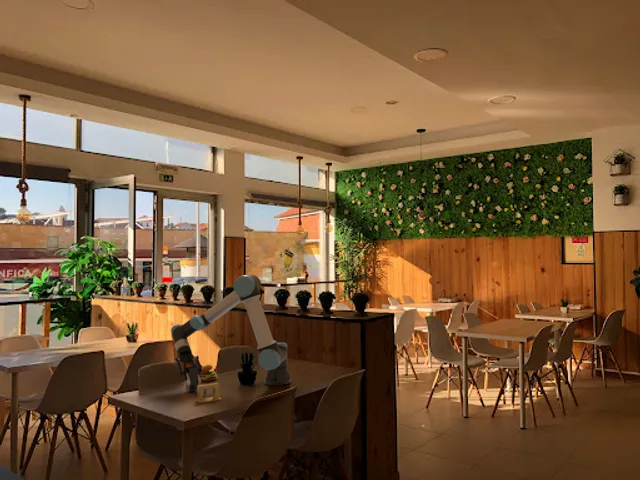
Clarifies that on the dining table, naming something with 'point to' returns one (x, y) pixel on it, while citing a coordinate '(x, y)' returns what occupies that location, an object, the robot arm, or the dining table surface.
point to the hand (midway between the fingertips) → (194, 384)
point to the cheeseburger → (208, 373)
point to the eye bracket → (201, 397)
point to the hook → (193, 379)
